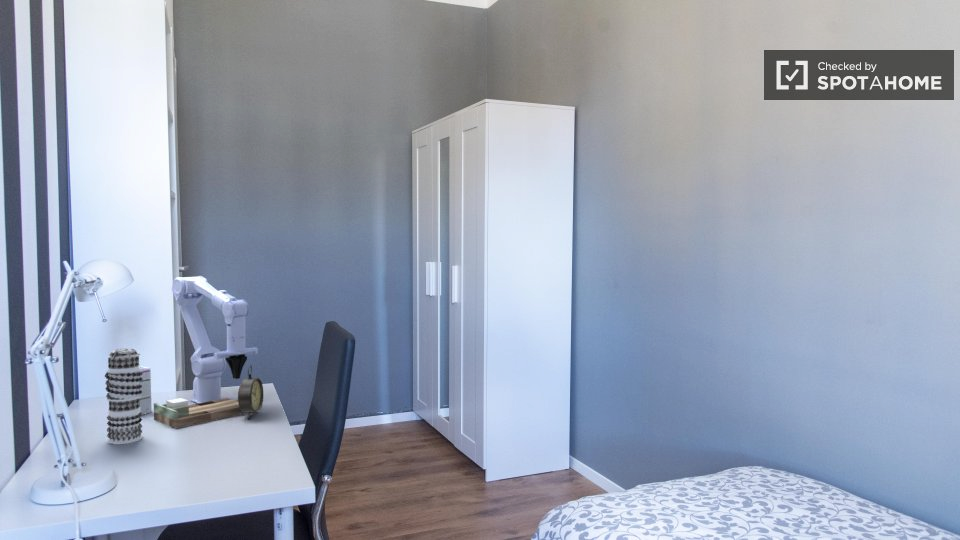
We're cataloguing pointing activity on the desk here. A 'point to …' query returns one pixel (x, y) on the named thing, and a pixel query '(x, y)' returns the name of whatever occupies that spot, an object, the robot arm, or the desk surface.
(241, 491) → the desk surface
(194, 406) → the trap board
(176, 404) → the white block
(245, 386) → the alarm clock
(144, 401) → the syrup box
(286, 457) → the desk surface
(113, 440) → the decorative candle
